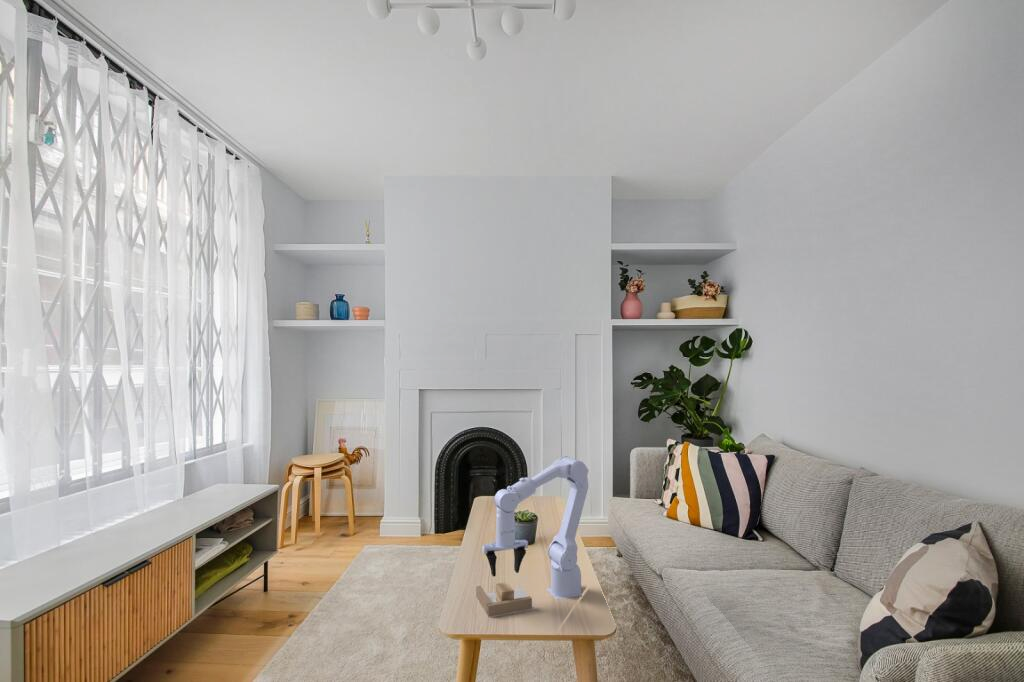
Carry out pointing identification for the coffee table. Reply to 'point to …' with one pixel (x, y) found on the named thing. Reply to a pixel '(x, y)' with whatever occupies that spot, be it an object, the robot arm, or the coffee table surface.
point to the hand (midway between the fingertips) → (505, 573)
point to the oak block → (504, 592)
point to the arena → (504, 603)
